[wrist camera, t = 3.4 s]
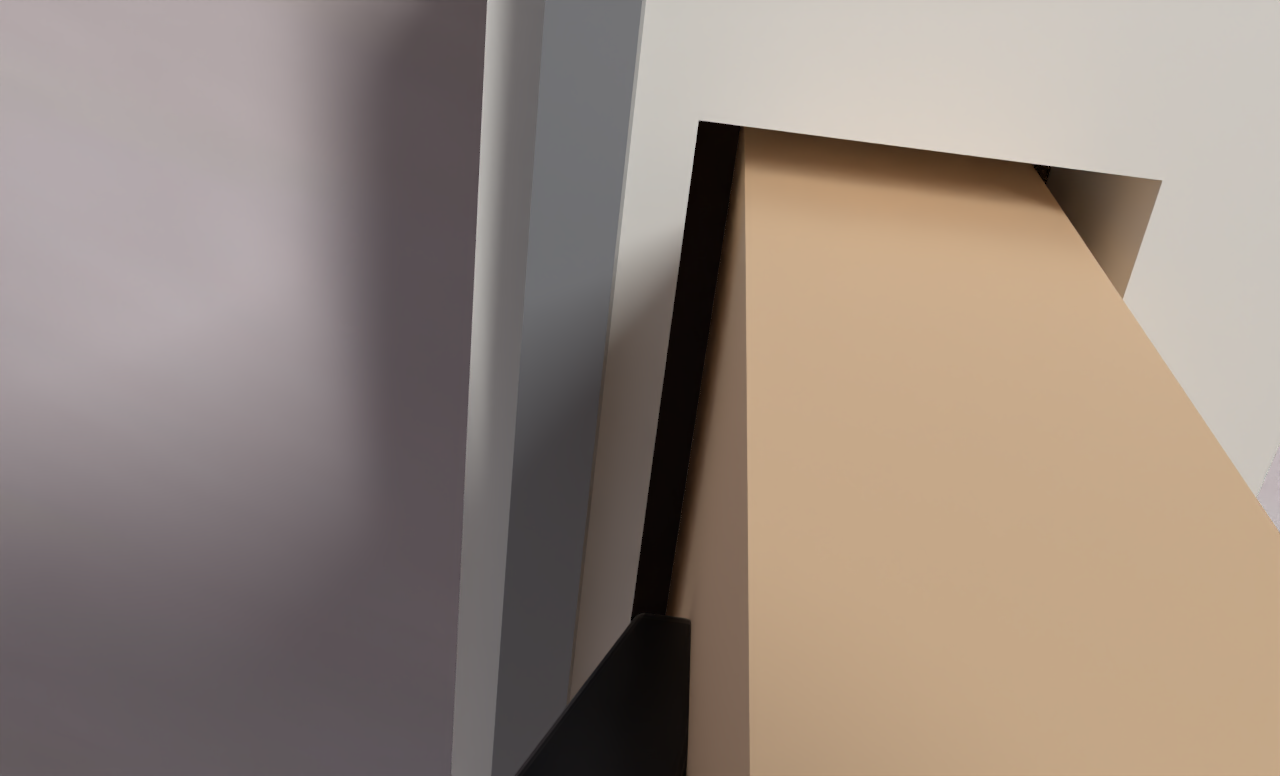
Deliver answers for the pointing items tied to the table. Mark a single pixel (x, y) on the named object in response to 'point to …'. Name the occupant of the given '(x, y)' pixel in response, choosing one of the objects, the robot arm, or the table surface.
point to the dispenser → (830, 107)
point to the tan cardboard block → (955, 495)
